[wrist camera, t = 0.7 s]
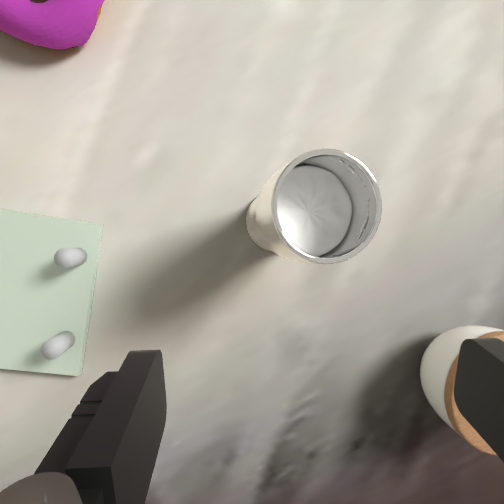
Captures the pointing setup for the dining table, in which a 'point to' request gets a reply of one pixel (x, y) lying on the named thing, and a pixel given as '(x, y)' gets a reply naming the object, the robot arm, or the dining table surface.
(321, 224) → the shiny metal tumbler
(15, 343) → the peg stand
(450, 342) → the lidded jar
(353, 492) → the dining table surface
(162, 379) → the robot arm
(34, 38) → the donut
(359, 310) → the dining table surface
